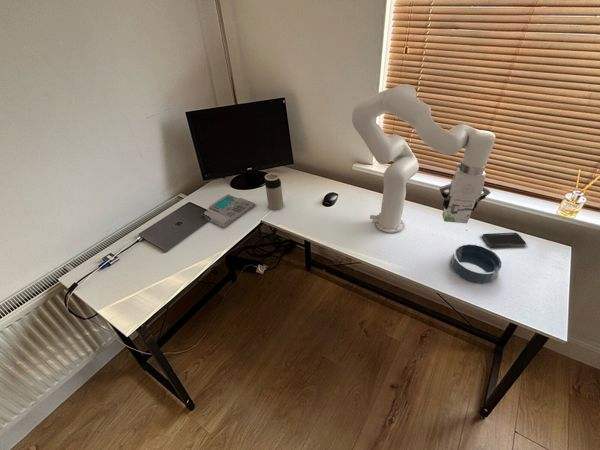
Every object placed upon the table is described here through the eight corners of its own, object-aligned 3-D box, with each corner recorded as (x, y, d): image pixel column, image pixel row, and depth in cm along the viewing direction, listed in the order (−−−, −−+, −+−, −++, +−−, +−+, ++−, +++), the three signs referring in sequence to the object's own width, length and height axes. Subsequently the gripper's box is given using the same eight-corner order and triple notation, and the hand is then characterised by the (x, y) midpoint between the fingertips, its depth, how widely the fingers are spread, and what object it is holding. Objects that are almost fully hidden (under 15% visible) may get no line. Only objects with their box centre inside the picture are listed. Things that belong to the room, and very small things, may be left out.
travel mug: (283, 210, 158) (279, 179, 146) (267, 210, 158) (263, 180, 147) (283, 201, 164) (280, 171, 153) (269, 202, 164) (264, 172, 153)
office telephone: (223, 224, 147) (196, 212, 156) (224, 229, 148) (197, 216, 158) (255, 201, 161) (228, 190, 170) (255, 205, 163) (229, 194, 172)
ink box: (443, 222, 118) (451, 196, 111) (441, 214, 122) (449, 189, 114) (467, 224, 116) (477, 198, 109) (464, 216, 120) (474, 191, 113)
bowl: (454, 281, 115) (458, 271, 111) (447, 252, 127) (450, 242, 124) (502, 286, 112) (507, 276, 108) (489, 255, 124) (494, 245, 121)
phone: (481, 233, 133) (516, 232, 132) (481, 235, 133) (515, 234, 133) (490, 246, 127) (527, 244, 126) (489, 248, 127) (526, 246, 127)
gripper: (447, 171, 104) (435, 212, 114) (503, 174, 100) (485, 215, 111) (443, 161, 109) (432, 201, 120) (496, 163, 106) (480, 204, 117)
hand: (458, 208), depth 116 cm, fingers closed on ink box, 8 cm apart
